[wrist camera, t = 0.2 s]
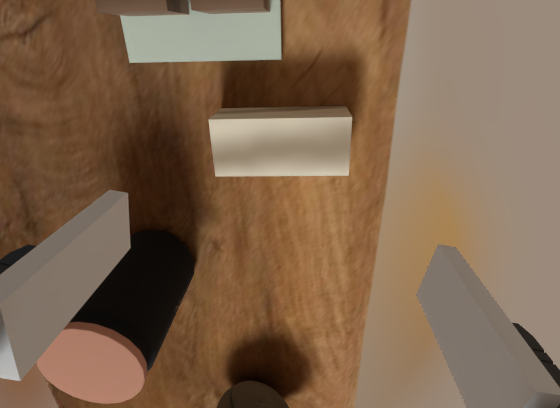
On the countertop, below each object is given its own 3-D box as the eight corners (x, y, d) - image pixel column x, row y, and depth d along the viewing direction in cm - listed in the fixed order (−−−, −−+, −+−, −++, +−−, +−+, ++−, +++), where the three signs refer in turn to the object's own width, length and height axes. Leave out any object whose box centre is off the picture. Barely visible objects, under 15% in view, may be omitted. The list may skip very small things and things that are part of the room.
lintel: (221, 107, 39) (208, 119, 33) (345, 105, 38) (352, 117, 32) (226, 157, 41) (215, 176, 36) (342, 156, 40) (348, 175, 35)
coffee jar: (147, 294, 52) (77, 411, 36) (108, 238, 48) (9, 342, 31) (209, 277, 50) (165, 394, 34) (174, 216, 45) (104, 317, 29)
